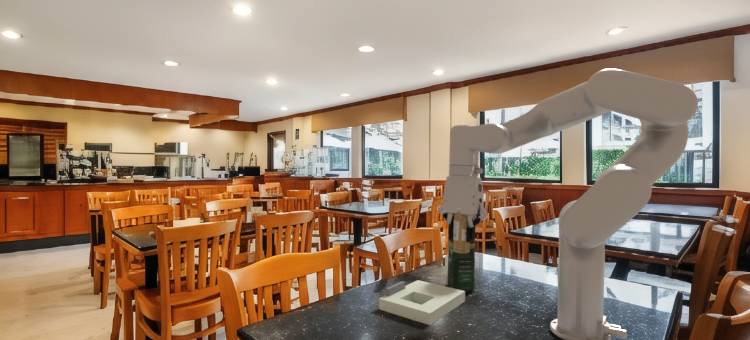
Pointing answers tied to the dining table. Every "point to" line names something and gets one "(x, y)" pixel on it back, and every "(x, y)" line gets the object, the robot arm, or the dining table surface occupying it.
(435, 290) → the deck plate
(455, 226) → the sprinkles bottle
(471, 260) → the coffee jar
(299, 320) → the dining table surface
